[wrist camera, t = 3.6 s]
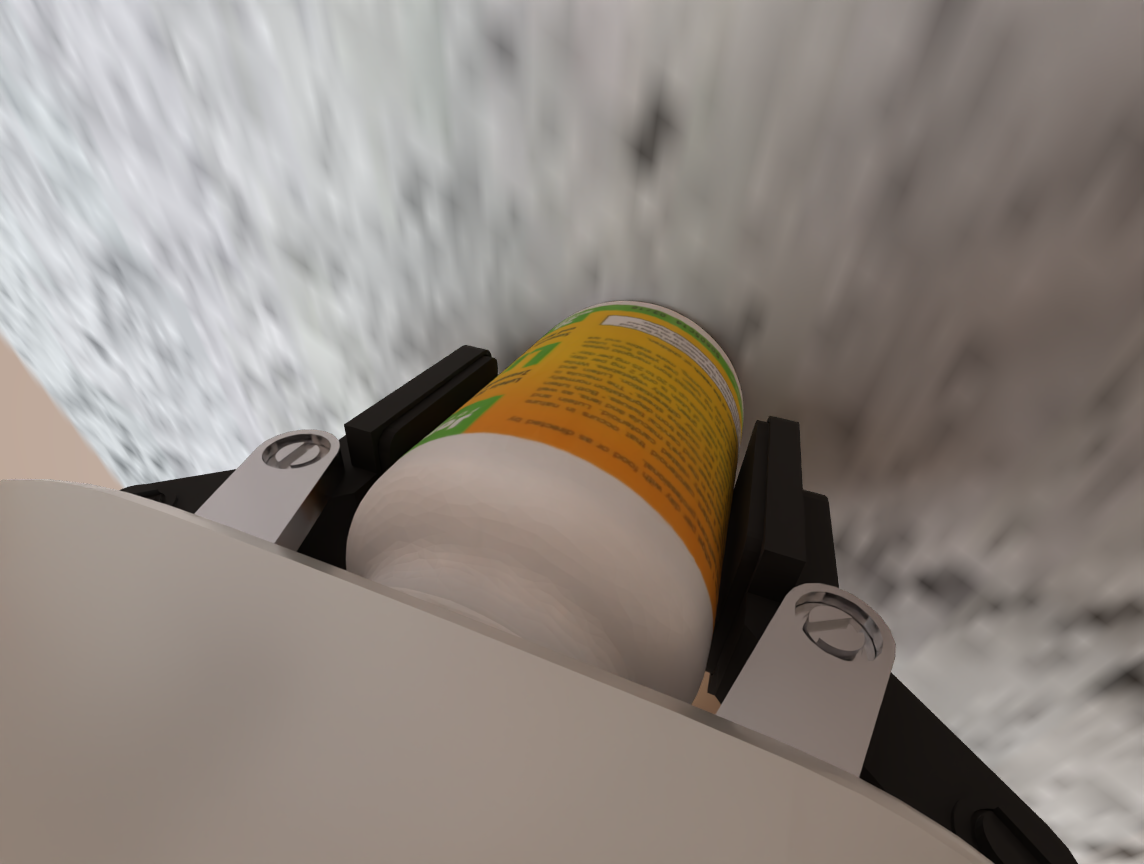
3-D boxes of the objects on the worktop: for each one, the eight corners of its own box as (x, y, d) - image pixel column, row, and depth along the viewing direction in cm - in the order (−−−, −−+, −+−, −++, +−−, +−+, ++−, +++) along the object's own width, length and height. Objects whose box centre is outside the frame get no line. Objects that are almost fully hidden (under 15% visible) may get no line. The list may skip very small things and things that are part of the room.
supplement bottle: (587, 249, 11) (120, 525, 3) (797, 377, 11) (829, 998, 3) (507, 422, 14) (171, 772, 6) (668, 523, 14) (523, 1013, 6)
